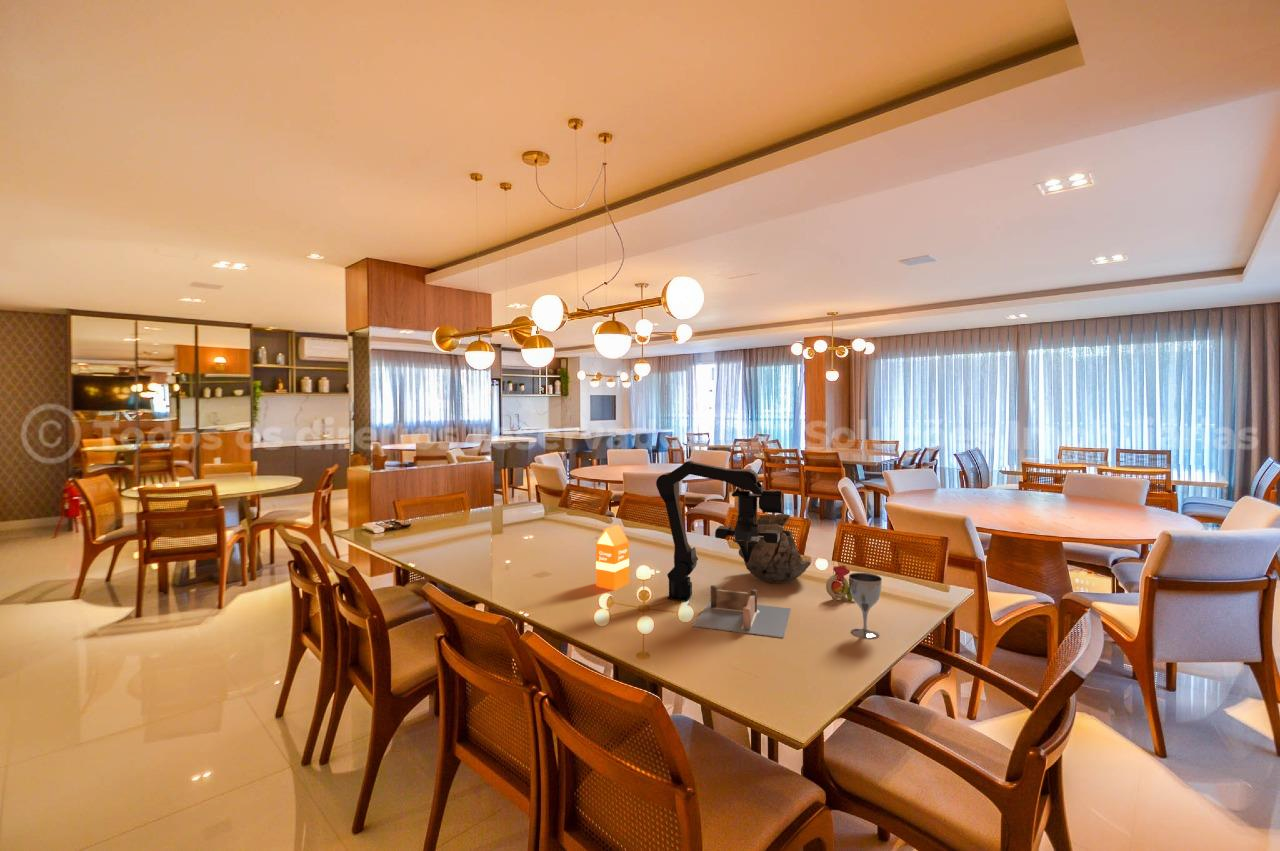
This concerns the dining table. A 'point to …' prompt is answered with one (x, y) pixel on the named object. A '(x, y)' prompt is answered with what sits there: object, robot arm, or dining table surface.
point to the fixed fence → (731, 599)
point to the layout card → (763, 621)
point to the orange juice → (612, 558)
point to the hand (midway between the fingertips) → (746, 562)
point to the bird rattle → (835, 587)
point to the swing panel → (749, 613)
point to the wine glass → (865, 599)
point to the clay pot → (775, 553)
